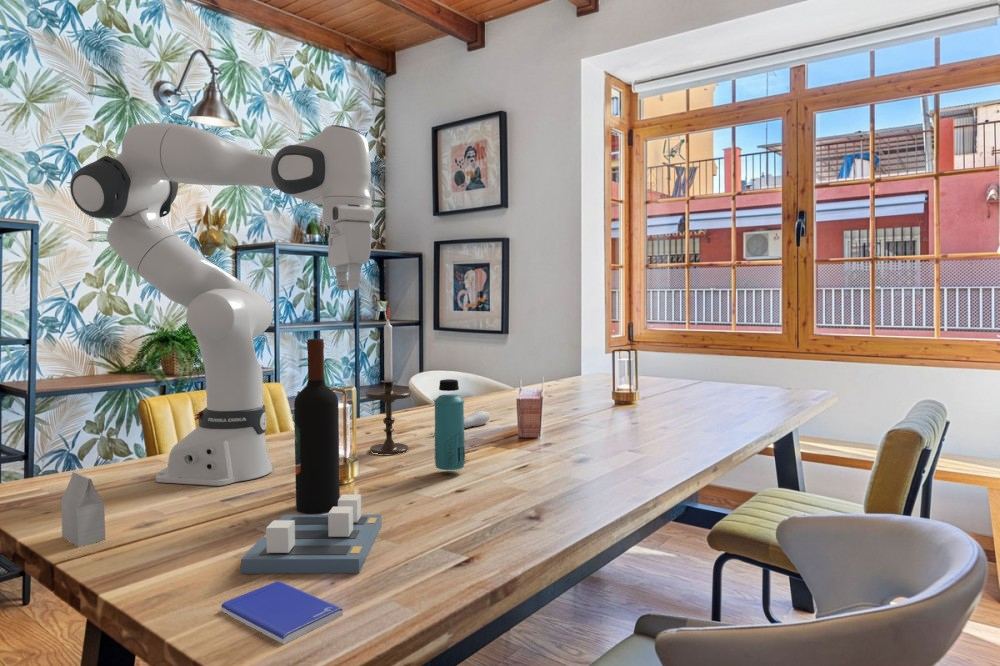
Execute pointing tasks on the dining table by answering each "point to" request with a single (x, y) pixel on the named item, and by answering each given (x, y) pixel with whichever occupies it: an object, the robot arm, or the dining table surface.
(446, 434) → the beverage bottle
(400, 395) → the candlestick
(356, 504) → the tab
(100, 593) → the dining table surface
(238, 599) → the hard drive
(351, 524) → the tab
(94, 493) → the grey gabled box
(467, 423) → the screwdriver
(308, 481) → the wine bottle
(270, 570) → the switch board
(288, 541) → the tab
